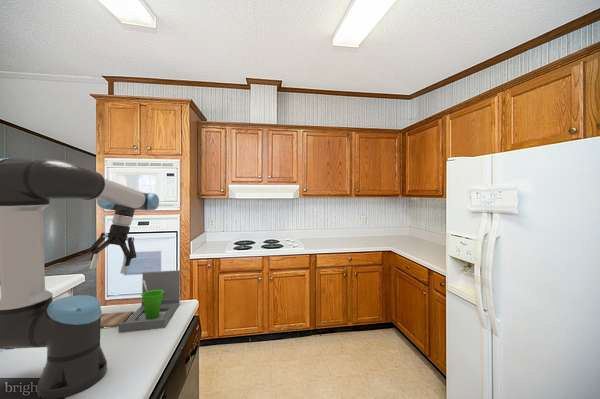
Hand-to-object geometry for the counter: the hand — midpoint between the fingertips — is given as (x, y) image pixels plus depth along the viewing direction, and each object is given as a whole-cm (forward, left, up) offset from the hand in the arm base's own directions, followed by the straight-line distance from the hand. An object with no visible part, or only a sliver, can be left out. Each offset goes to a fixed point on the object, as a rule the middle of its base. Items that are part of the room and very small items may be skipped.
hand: (107, 270), depth 114 cm
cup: (-18, -11, -21) cm, 30 cm away
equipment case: (-18, -11, -21) cm, 30 cm away
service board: (-6, +1, -21) cm, 22 cm away
